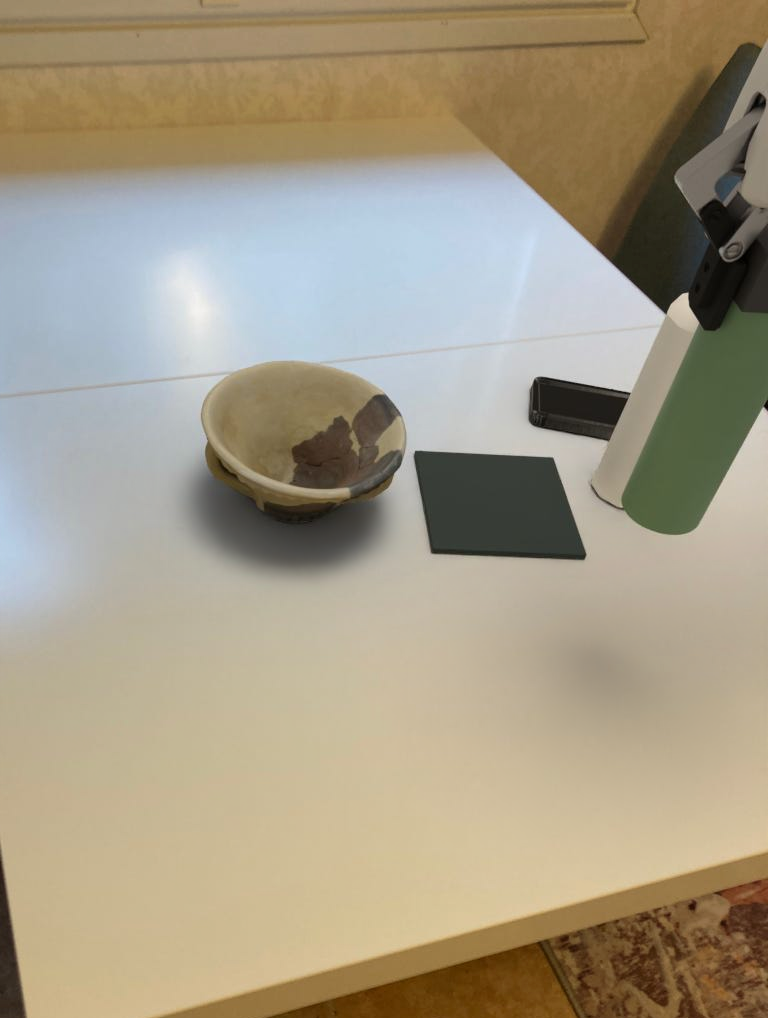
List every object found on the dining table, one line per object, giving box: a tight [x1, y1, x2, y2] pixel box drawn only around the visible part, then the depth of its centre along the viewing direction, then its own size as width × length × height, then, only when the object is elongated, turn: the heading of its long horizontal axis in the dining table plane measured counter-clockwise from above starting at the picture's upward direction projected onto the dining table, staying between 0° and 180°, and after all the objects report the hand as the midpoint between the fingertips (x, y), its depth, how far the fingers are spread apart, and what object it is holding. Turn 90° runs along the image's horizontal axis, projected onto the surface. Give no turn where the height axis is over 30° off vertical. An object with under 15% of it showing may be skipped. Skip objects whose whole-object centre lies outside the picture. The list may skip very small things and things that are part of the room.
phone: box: [528, 375, 631, 440], centre depth 98 cm, size 8×1×15 cm
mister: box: [621, 224, 768, 536], centre depth 56 cm, size 7×5×19 cm
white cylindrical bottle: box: [590, 292, 699, 509], centre depth 82 cm, size 7×12×25 cm, turn 157°
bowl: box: [200, 360, 408, 524], centre depth 82 cm, size 18×18×10 cm
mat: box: [413, 450, 587, 560], centre depth 87 cm, size 14×14×1 cm
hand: (754, 317), depth 53 cm, fingers closed on mister, 5 cm apart
